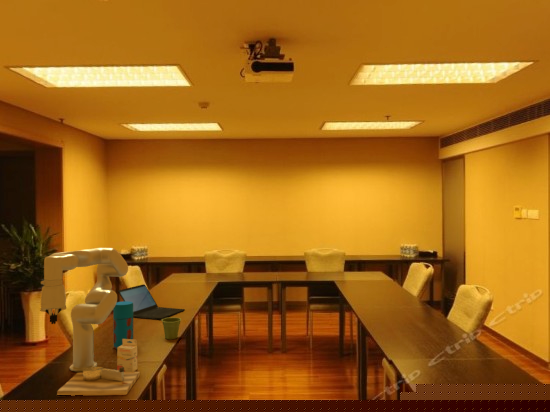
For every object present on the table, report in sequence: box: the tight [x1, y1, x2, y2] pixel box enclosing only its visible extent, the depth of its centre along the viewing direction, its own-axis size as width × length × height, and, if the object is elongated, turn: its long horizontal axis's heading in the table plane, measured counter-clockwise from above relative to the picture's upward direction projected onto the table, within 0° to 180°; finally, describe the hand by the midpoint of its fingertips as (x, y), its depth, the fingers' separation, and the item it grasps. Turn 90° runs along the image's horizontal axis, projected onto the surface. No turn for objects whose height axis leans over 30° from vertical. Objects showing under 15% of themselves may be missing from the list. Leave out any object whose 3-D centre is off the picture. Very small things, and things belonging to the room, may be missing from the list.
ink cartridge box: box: [116, 339, 138, 372], centre depth 226 cm, size 9×5×15 cm, turn 77°
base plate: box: [56, 371, 141, 397], centre depth 207 cm, size 22×29×2 cm
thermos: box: [112, 300, 134, 350], centre depth 265 cm, size 11×11×25 cm
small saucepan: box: [82, 366, 124, 381], centre depth 209 cm, size 20×9×6 cm, turn 73°
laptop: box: [117, 283, 186, 321], centre depth 349 cm, size 33×38×19 cm
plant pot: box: [161, 316, 182, 340], centre depth 282 cm, size 12×12×11 cm
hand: (53, 323), depth 210 cm, fingers closed
